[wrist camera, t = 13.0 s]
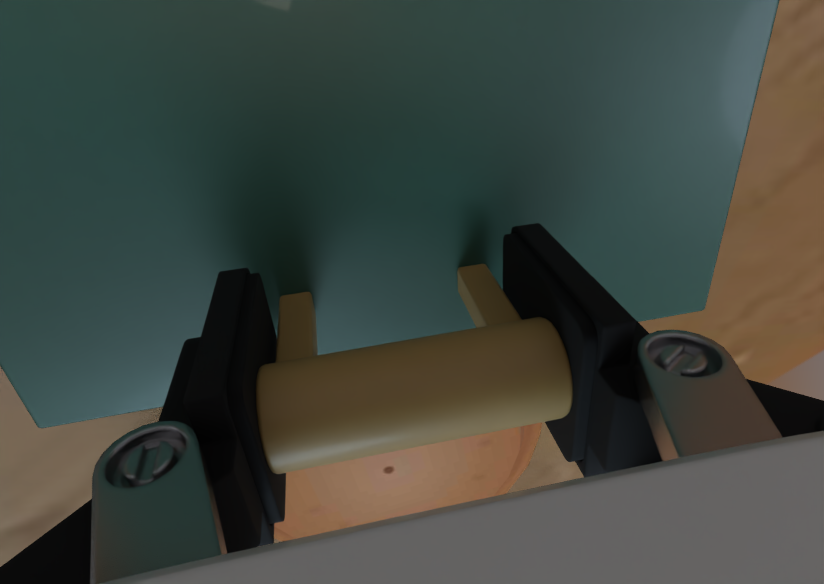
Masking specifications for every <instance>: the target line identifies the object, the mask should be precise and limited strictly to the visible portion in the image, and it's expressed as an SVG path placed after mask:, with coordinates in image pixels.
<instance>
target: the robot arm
mask: <svg viewBox="0 0 824 584" xmlns="http://www.w3.org/2000/svg"><path fill="white" fill-rule="evenodd" d="M503 291H504V293H505V294H506V296H507V298H508V299H509V301H510V302H511V304H512V305H513V307H514V308H515V310H516V311H517V313H518V314H519V316H520V317H521V319H522V320H524V319H530V318H535V317H542V318H545V319H547V320H549V321H550V322H551V323H552V324H553V325H554V327H555V328H556V330H557V331H558V333H559V335H560V337H561V339H562V342H563V344H564V347H565V350H566V353H567V356H568V359H569V364H570V368H571V374H572V382H573V401H572V406H571V409H570V412H569V413H568V414H567V415H566V416H565V417H563V418H561V419H556V420H551V421H546V422H545V423H546V425H547V427H548V428H549V430H550V432H551V434H552V436H553V438H554V439H555V441H556V443H557V445H558V447H559V448H560V450H561V452H562V454H563V456H564V457H565V459H566V460H567V461H568V462H572V461H575V462H576V463H577V465H578V467H579V469H580V470H581V472H582V474H583V476H584V478H579V479H574V480H570V481H565V482H560V483H555V484H551V485H546V486H541V487H536V488H531V489H527V490H522V491H517V492H512V493H508V494H503V495H498V496H493V497H489V498H484V499H479V500H474V501H470V502H465V503H460V504H456V505H451V506H446V507H441V508H437V509H432V510H427V511H423V512H418V513H413V514H408V515H404V516H399V517H394V518H390V519H385V520H380V521H376V522H371V523H366V524H362V525H357V526H353V527H348V528H343V529H339V530H334V531H330V532H325V533H320V534H316V535H311V536H306V537H302V538H297V539H293V540H288V541H283V542H279V543H274V524H275V523H278V522H283V521H284V519H285V497H286V473H282V474H276V473H273V472H272V471H271V470H270V468H269V466H268V464H267V461H266V458H265V455H264V451H263V447H262V443H261V438H260V432H259V426H258V418H257V408H256V379H257V373H258V370H259V368H260V367H261V366H263V365H265V364H270V363H276V347H277V336H276V332H275V328H274V325H273V321H272V317H271V313H270V309H269V305H268V302H267V298H266V294H265V290H264V286H263V282H262V279H261V276H260V274H259V273H253V274H251V273H250V271H249V269H248V268H247V267H246V268H240V269H233V270H227V271H220V272H219V273H218V277H217V280H216V284H215V288H214V291H213V295H212V298H211V302H210V306H209V309H208V313H207V316H206V320H205V324H204V327H203V331H202V334H201V337H197V338H191V339H187V340H185V342H184V344H183V347H182V350H181V353H180V356H179V359H178V362H177V365H176V369H175V372H174V375H173V378H172V381H171V384H170V387H169V390H168V393H167V397H166V400H165V403H164V406H163V409H162V412H161V415H160V418H159V422H155V423H151V424H147V425H144V426H141V427H139V428H137V429H135V430H133V431H130V432H128V433H127V434H125V435H124V436H122V437H121V438H119V439H118V440H116V441H115V442H114V443H113V444H112V445H111V446H110V447H109V448H108V449H107V450H106V451H104V452H103V454H102V455H101V457H100V458H99V460H98V462H97V463H96V465H95V469H94V473H93V478H92V499H91V500H90V501H88V502H87V503H86V504H84V505H83V506H82V507H80V508H79V509H78V510H76V511H75V512H74V513H72V514H71V515H70V516H68V517H67V518H66V519H64V520H63V521H62V522H60V523H59V524H58V525H56V526H55V527H54V528H52V529H51V530H50V531H48V532H47V533H46V534H44V535H43V536H42V537H40V538H39V539H38V540H36V541H35V542H33V543H32V544H31V545H29V546H28V547H27V548H25V549H24V550H23V551H21V552H20V553H19V554H17V555H16V556H15V557H13V558H12V559H11V560H9V561H8V562H7V563H5V564H4V565H3V566H1V567H0V584H824V401H822V400H819V399H815V398H812V397H808V396H805V395H801V394H797V393H794V392H791V391H787V390H783V389H780V388H776V387H773V386H769V385H766V384H762V383H759V382H755V381H751V380H748V379H745V377H744V375H743V374H742V372H741V371H740V369H739V368H738V366H737V364H736V363H735V361H734V360H733V358H732V357H731V355H730V354H729V353H728V352H727V351H726V350H725V348H724V347H722V346H721V345H719V344H718V343H716V342H715V341H713V340H712V339H709V338H707V337H704V336H702V335H700V334H696V333H692V332H687V331H680V330H663V331H657V332H653V333H650V334H649V333H648V332H647V331H646V330H645V329H644V328H643V327H642V326H641V325H640V324H639V323H638V322H637V321H636V320H635V319H634V318H633V317H632V316H631V315H630V314H629V313H628V312H627V311H626V310H625V309H624V308H623V307H622V306H621V305H620V304H619V303H618V302H617V301H616V300H615V299H614V298H613V297H612V295H611V294H610V293H609V292H608V291H607V290H606V289H605V288H604V287H603V286H602V285H601V284H600V283H599V282H598V281H597V280H596V279H595V278H594V277H593V276H591V275H590V274H589V273H588V272H587V271H586V270H585V269H584V268H583V267H582V266H581V264H580V263H579V262H578V261H577V260H576V259H575V258H574V257H573V256H572V255H571V254H570V253H569V252H568V251H567V250H566V249H565V248H564V247H563V246H562V245H561V244H560V243H559V242H558V241H557V240H556V239H555V238H554V237H553V236H552V235H551V234H550V233H549V232H548V231H547V230H546V229H545V228H544V227H543V226H542V225H541V224H540V223H534V224H528V225H521V226H515V227H513V228H512V229H511V234H506V235H504V238H503ZM272 543H274V544H272ZM268 544H270V545H268ZM263 545H265V546H263ZM258 546H260V547H258Z"/></svg>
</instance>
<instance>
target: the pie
mask: <svg viewBox="0 0 824 584" xmlns="http://www.w3.org/2000/svg"><path fill="white" fill-rule="evenodd" d="M541 425H542V422H541V423H536V424H531V425H526V426H520V427H515V428H510V429H505V430H500V431H495V432H490V433H485V434H480V435H475V436H470V437H465V438H460V439H454V440H449V441H444V442H439V443H434V444H429V445H424V446H419V447H414V448H409V449H404V450H399V451H394V452H388V453H383V454H378V455H373V456H368V457H363V458H358V459H353V460H348V461H343V462H338V463H333V464H328V465H322V466H317V467H312V468H307V469H302V470H297V471H292V472H287V473H286V497H285V519H284V521H283V522H278V523H275V524H274V538H275V539H277V540H279V541H288V540H293V539H297V538H302V537H306V536H311V535H316V534H320V533H325V532H330V531H334V530H339V529H343V528H348V527H353V526H357V525H362V524H366V523H371V522H376V521H380V520H385V519H390V518H394V517H399V516H404V515H408V514H413V513H418V512H423V511H427V510H432V509H437V508H441V507H446V506H451V505H456V504H460V503H465V502H470V501H474V500H479V499H484V498H489V497H493V496H498V495H503V494H506V493H507V492H508V491H509V489H510V488H511V487H512V486H513V484H514V483H515V482H516V480H517V479H518V478H519V477H520V475H521V474H522V473H523V471H524V470H525V469H526V468H527V466H528V465H529V463H530V460H531V457H532V455H533V452H534V449H535V447H536V444H537V441H538V439H539V436H540V433H541Z"/></svg>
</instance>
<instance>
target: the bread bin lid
mask: <svg viewBox="0 0 824 584" xmlns="http://www.w3.org/2000/svg"><path fill="white" fill-rule="evenodd" d="M778 4H779V0H0V366H1V367H2V369H3V371H4V372H5V374H6V376H7V377H8V379H9V381H10V382H11V384H12V385H13V387H14V389H15V390H16V392H17V394H18V395H19V397H20V399H21V400H22V402H23V403H24V405H25V407H26V408H27V410H28V412H29V413H30V415H31V417H32V418H33V420H34V421H35V423H36V425H37V426H38V427H39V428H46V427H52V426H57V425H63V424H69V423H74V422H80V421H85V420H91V419H97V418H102V417H108V416H113V415H119V414H125V413H130V412H136V411H141V410H147V409H153V408H158V407H163V406H164V403H165V400H166V397H167V393H168V390H169V387H170V384H171V381H172V378H173V375H174V372H175V369H176V365H177V362H178V359H179V356H180V353H181V350H182V347H183V344H184V342H185V340H187V339H191V338H197V337H201V334H202V331H203V327H204V324H205V320H206V316H207V313H208V309H209V306H210V302H211V298H212V295H213V291H214V288H215V284H216V280H217V277H218V273H219V272H220V271H227V270H233V269H240V268H246V267H247V268H248V269H249V271H250V273H251V274H253V273H259V274H260V276H261V279H262V282H263V286H264V290H265V294H266V298H267V302H268V305H269V309H270V313H271V317H272V321H273V325H274V328H275V332H276V336H277V347H276V363H270V364H265V365H263V366H261V367H260V368H259V370H258V373H257V379H256V408H257V418H258V426H259V432H260V438H261V443H262V447H263V451H264V455H265V458H266V461H267V464H268V466H269V468H270V470H271V471H272V472H273V473H276V474H282V473H287V472H292V471H297V470H302V469H307V468H312V467H317V466H322V465H328V464H333V463H338V462H343V461H348V460H353V459H358V458H363V457H368V456H373V455H378V454H383V453H388V452H394V451H399V450H404V449H409V448H414V447H419V446H424V445H429V444H434V443H439V442H444V441H449V440H454V439H460V438H465V437H470V436H475V435H480V434H485V433H490V432H495V431H500V430H505V429H510V428H515V427H520V426H526V425H531V424H536V423H541V422H546V421H551V420H556V419H561V418H563V417H565V416H566V415H567V414H568V413H569V412H570V409H571V406H572V401H573V382H572V374H571V368H570V364H569V359H568V356H567V353H566V350H565V347H564V344H563V342H562V339H561V337H560V335H559V333H558V331H557V330H556V328H555V327H554V325H553V324H552V323H551V322H550V321H549V320H547V319H545V318H542V317H535V318H530V319H524V320H522V319H521V317H520V316H519V314H518V313H517V311H516V310H515V308H514V307H513V305H512V304H511V302H510V301H509V299H508V298H507V296H506V294H505V293H504V291H503V238H504V235H506V234H511V229H512V228H513V227H515V226H521V225H528V224H534V223H540V224H541V225H542V226H543V227H544V228H545V229H546V230H547V231H548V232H549V233H550V234H551V235H552V236H553V237H554V238H555V239H556V240H557V241H558V242H559V243H560V244H561V245H562V246H563V247H564V248H565V249H566V250H567V251H568V252H569V253H570V254H571V255H572V256H573V257H574V258H575V259H576V260H577V261H578V262H579V263H580V264H581V266H582V267H583V268H584V269H585V270H586V271H587V272H588V273H589V274H590V275H591V276H593V277H594V278H595V279H596V280H597V281H598V282H599V283H600V284H601V285H602V286H603V287H604V288H605V289H606V290H607V291H608V292H609V293H610V294H611V295H612V297H613V298H614V299H615V300H616V301H617V302H618V303H619V304H620V305H621V306H622V307H623V308H624V309H625V310H626V311H627V312H628V313H629V314H630V315H631V316H632V317H633V318H634V319H635V320H636V321H637V322H640V321H646V320H651V319H657V318H662V317H668V316H674V315H679V314H685V313H690V312H696V311H702V310H704V309H705V305H706V301H707V297H708V293H709V289H710V285H711V281H712V277H713V272H714V268H715V264H716V260H717V256H718V252H719V248H720V243H721V239H722V235H723V231H724V227H725V223H726V219H727V215H728V210H729V206H730V202H731V198H732V194H733V190H734V186H735V181H736V177H737V173H738V169H739V165H740V161H741V157H742V152H743V148H744V144H745V140H746V136H747V132H748V128H749V124H750V119H751V115H752V111H753V107H754V103H755V99H756V95H757V90H758V86H759V82H760V78H761V74H762V70H763V66H764V62H765V57H766V53H767V49H768V45H769V41H770V37H771V33H772V28H773V24H774V20H775V16H776V12H777V8H778Z"/></svg>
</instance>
